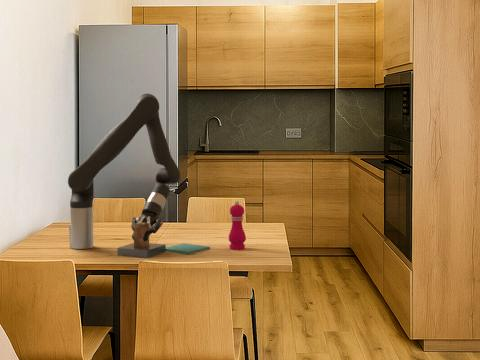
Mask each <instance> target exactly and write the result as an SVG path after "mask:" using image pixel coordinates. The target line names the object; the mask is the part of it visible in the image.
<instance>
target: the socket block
mask: <svg viewBox="0 0 480 360" xmlns="http://www.w3.org/2000/svg"><path fill="white" fill-rule="evenodd" d="M166 245H167V244H162V243H152V242H151V243H150V242H149V246H148V247H145V248H140V247H134V242H133V243H129V244H125V245H123V246H120V247H117V256H120V255H121V257H123V256H124V257H131V256H132V258H133V257H134V258H144V259H149V258H152V257H155V256H157V255H160V254H164V253H166V252H167V251H166V247H167V246H166Z"/></svg>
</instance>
